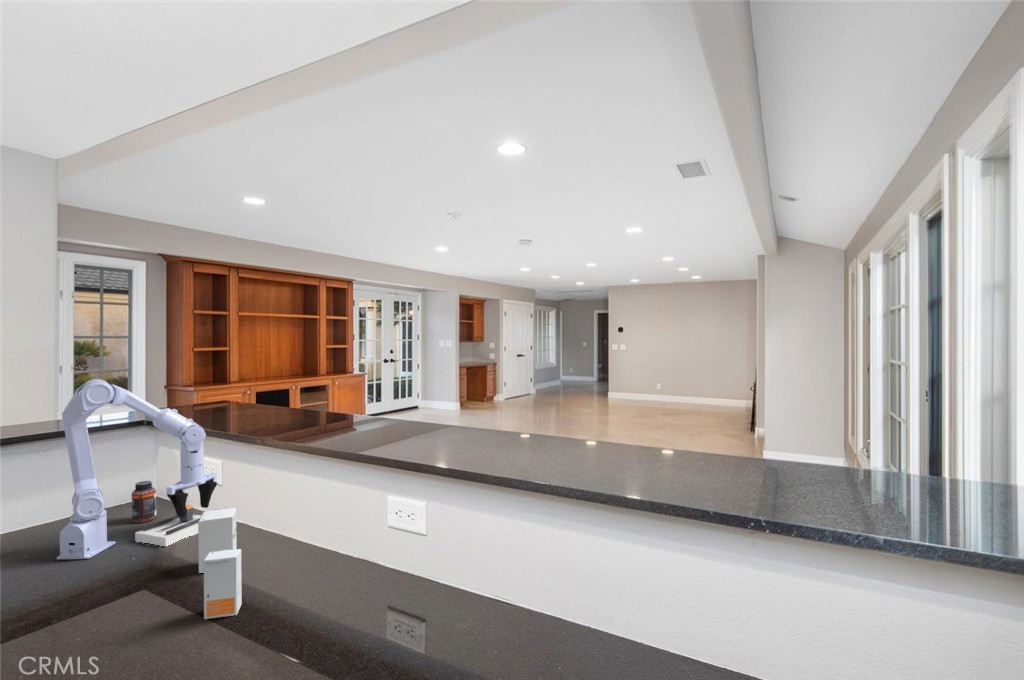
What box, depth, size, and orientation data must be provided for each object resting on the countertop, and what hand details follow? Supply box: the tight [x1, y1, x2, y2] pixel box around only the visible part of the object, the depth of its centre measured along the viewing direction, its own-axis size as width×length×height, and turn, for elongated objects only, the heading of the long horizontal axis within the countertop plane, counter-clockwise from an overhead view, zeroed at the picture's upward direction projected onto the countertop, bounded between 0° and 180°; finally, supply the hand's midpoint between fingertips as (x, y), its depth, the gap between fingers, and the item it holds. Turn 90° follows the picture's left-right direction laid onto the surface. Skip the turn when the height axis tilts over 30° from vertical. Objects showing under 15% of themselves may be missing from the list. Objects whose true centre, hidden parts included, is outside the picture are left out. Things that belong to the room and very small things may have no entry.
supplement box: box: [197, 507, 238, 574], centre depth 124 cm, size 7×7×13 cm
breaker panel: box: [134, 513, 202, 548], centre depth 143 cm, size 15×11×4 cm
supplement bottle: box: [131, 480, 157, 524], centre depth 154 cm, size 6×6×11 cm
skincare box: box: [203, 548, 243, 620], centre depth 103 cm, size 6×4×12 cm
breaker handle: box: [179, 504, 194, 522], centre depth 146 cm, size 2×3×4 cm, turn 72°
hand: (193, 511), depth 148 cm, fingers open, 7 cm apart
